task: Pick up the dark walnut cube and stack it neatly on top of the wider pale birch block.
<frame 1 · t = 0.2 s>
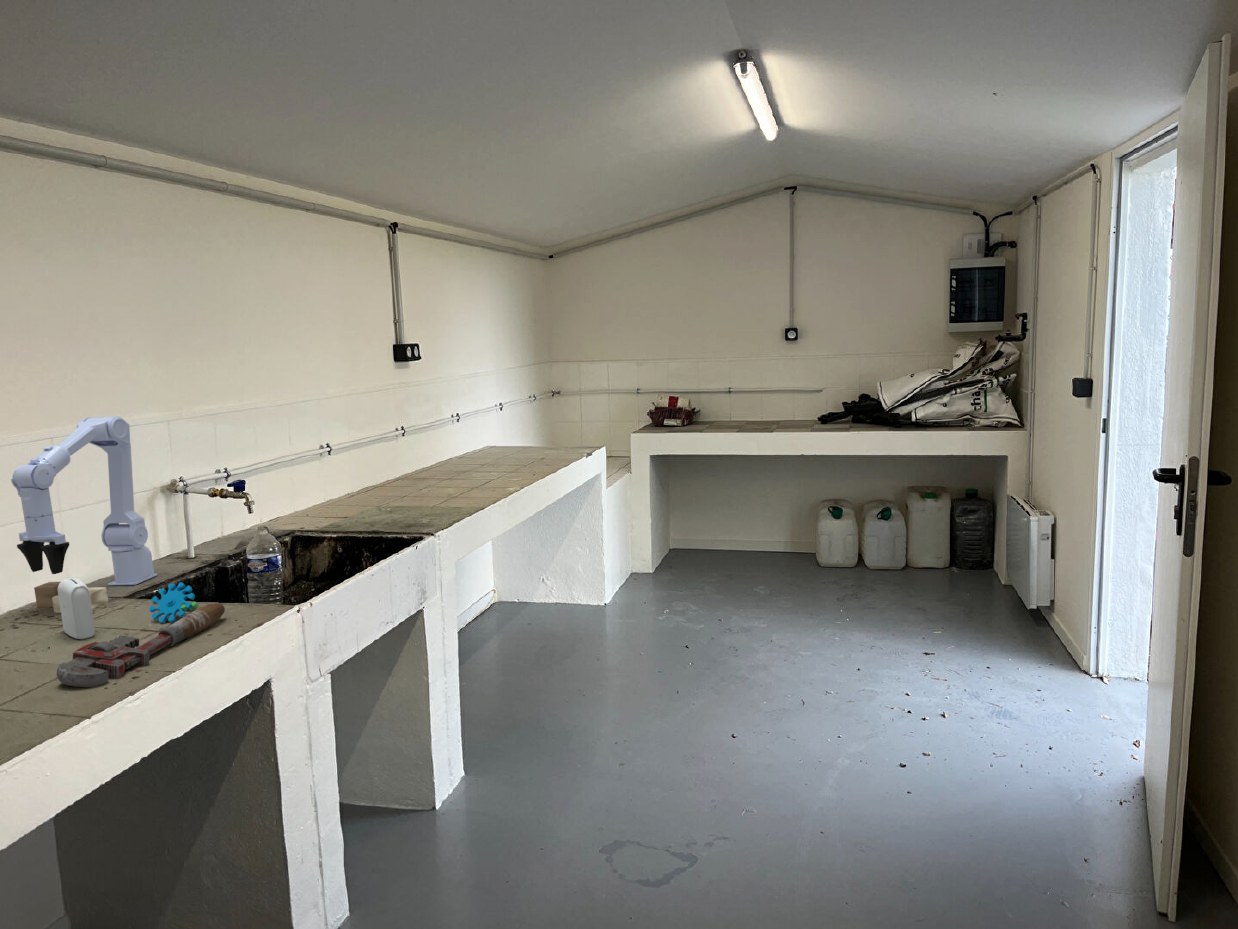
hand: (47, 572, 212), 10 cm above the table, tool pointing down, fingers open, 7 cm apart
birch block: (82, 608, 216), on the table
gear: (176, 619, 203), on the table
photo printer: (79, 635, 195), on the table
pipe wrench: (147, 652, 182), on the table
walnut cube: (54, 604, 221), on the table
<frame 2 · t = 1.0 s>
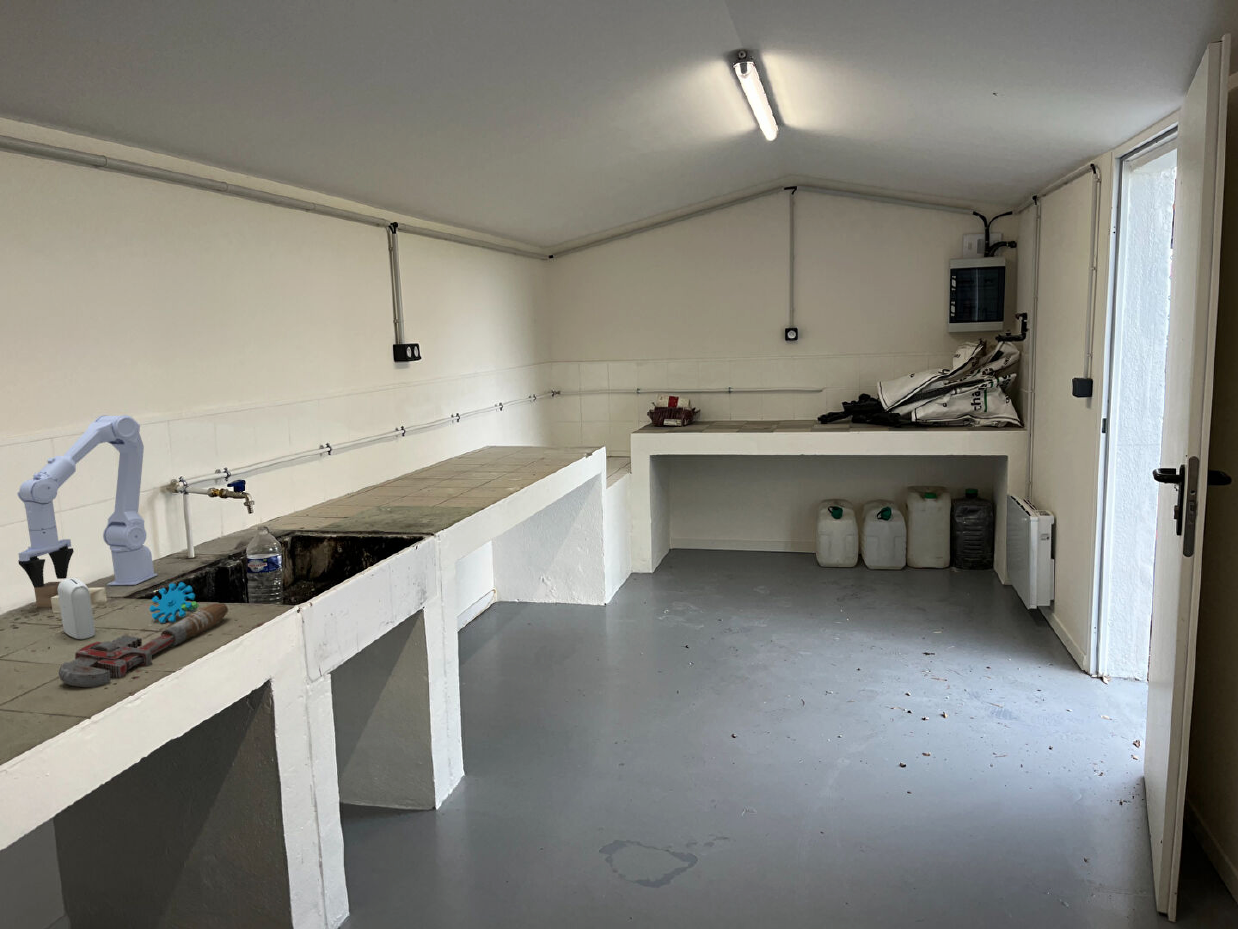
hand: (50, 582, 220), 5 cm above the table, tool pointing down, fingers open, 7 cm apart
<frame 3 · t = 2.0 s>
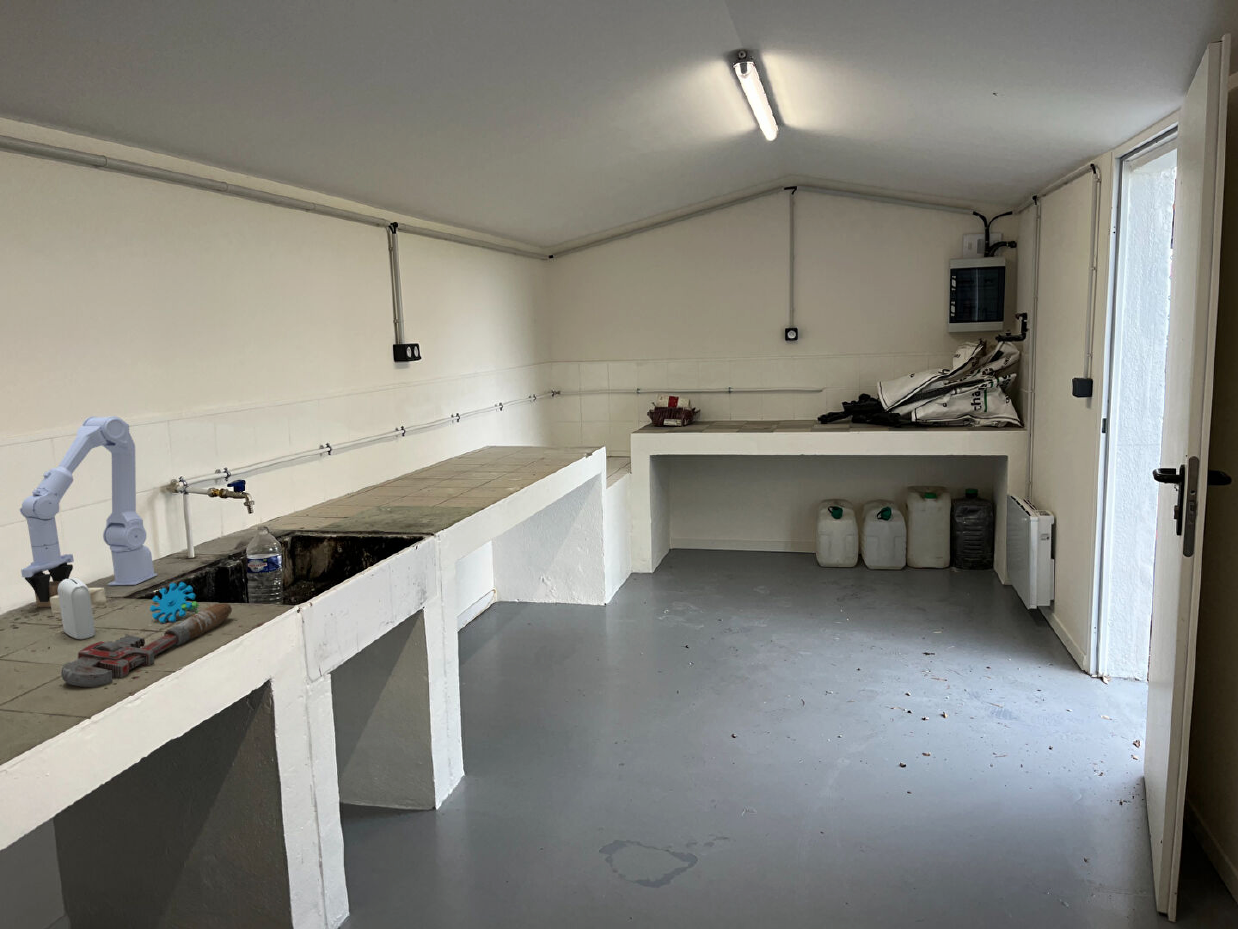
hand: (53, 598, 221), 1 cm above the table, tool pointing down, fingers closed on walnut cube, 5 cm apart
walnut cube: (54, 603, 221), on the table, touching gripper
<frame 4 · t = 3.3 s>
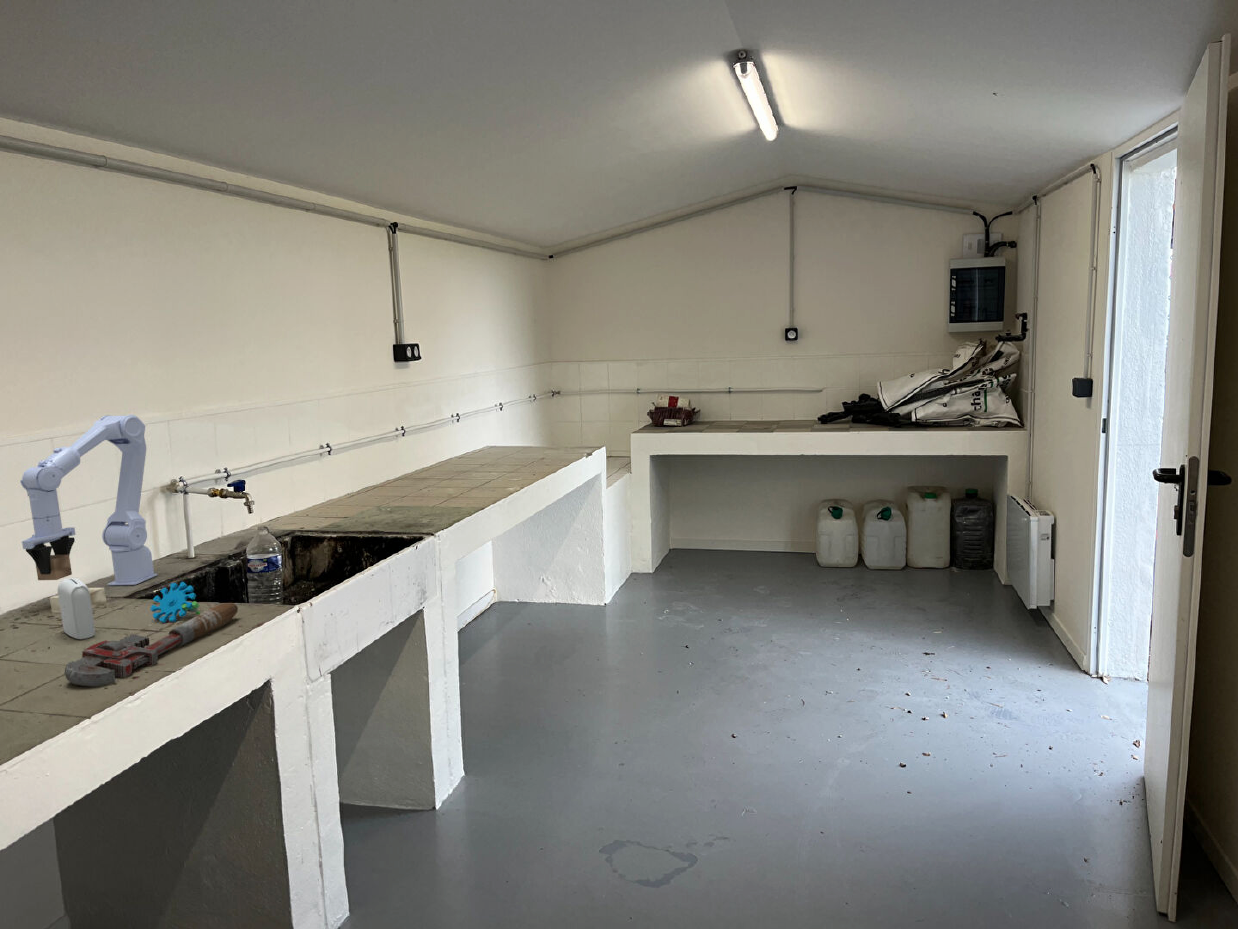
hand: (54, 571, 219), 8 cm above the table, tool pointing down, fingers closed on walnut cube, 5 cm apart
walnut cube: (55, 577, 219), point 7 cm above the table, touching gripper
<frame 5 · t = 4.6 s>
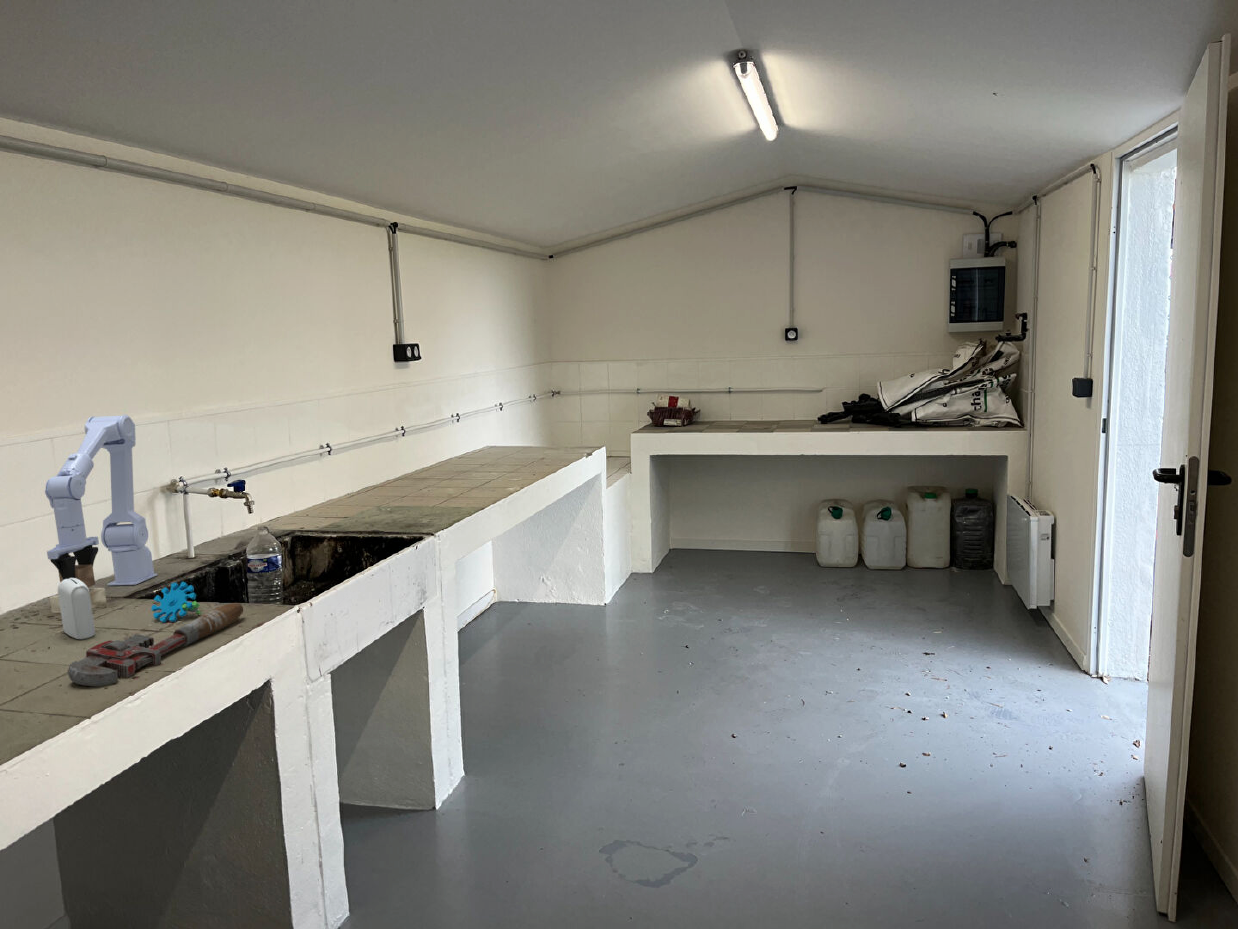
hand: (78, 581, 216), 6 cm above the table, tool pointing down, fingers closed on walnut cube, 5 cm apart
walnut cube: (78, 587, 216), point 5 cm above the table, touching gripper
when the fingers open (6 cm above the table, at t = 4.7 s): walnut cube drops 1 cm, resting on birch block.
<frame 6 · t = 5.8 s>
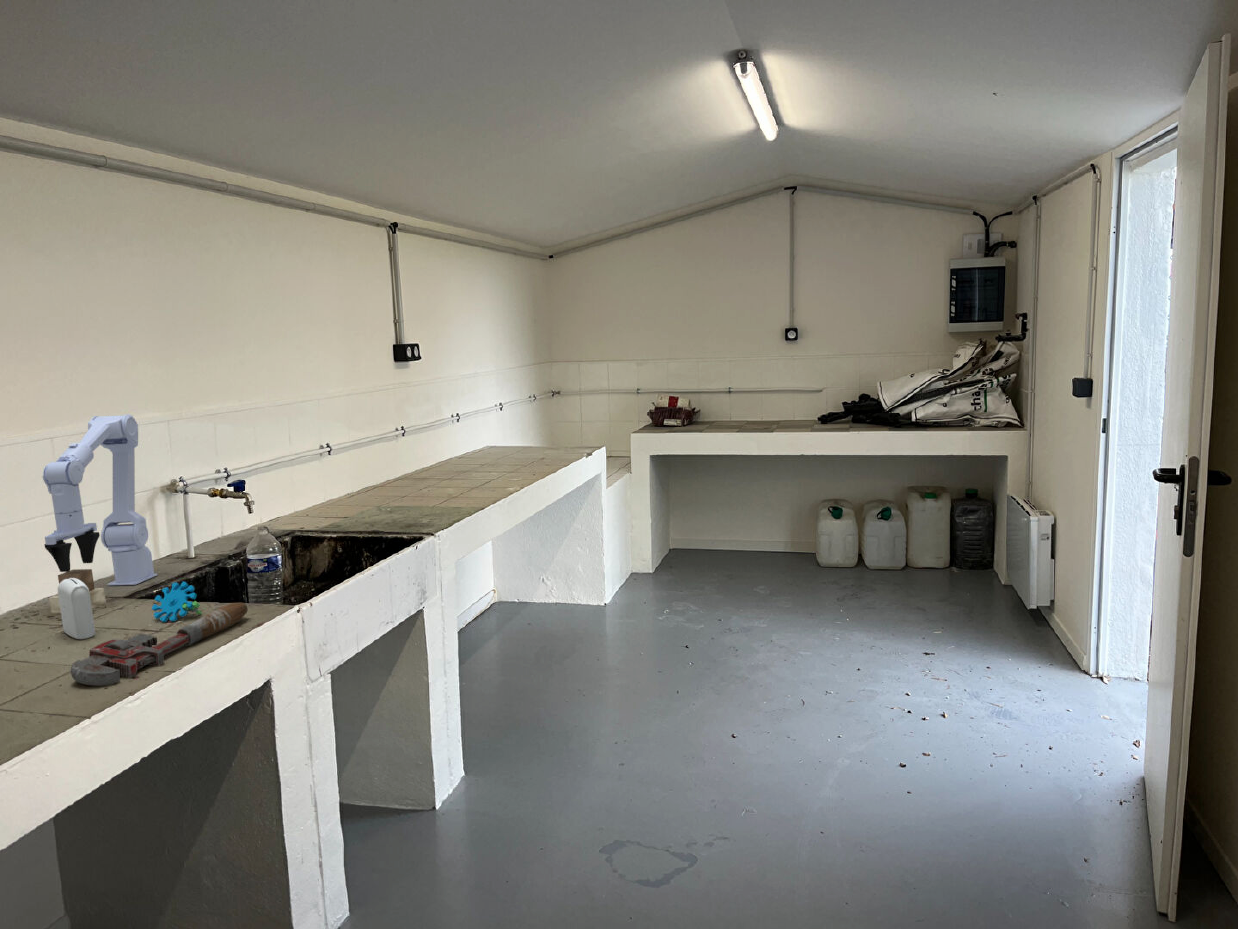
hand: (76, 567, 215), 10 cm above the table, tool pointing down, fingers open, 7 cm apart
birch block: (79, 609, 216), on the table, touching walnut cube
walnut cube: (77, 592, 216), point 4 cm above the table, touching birch block
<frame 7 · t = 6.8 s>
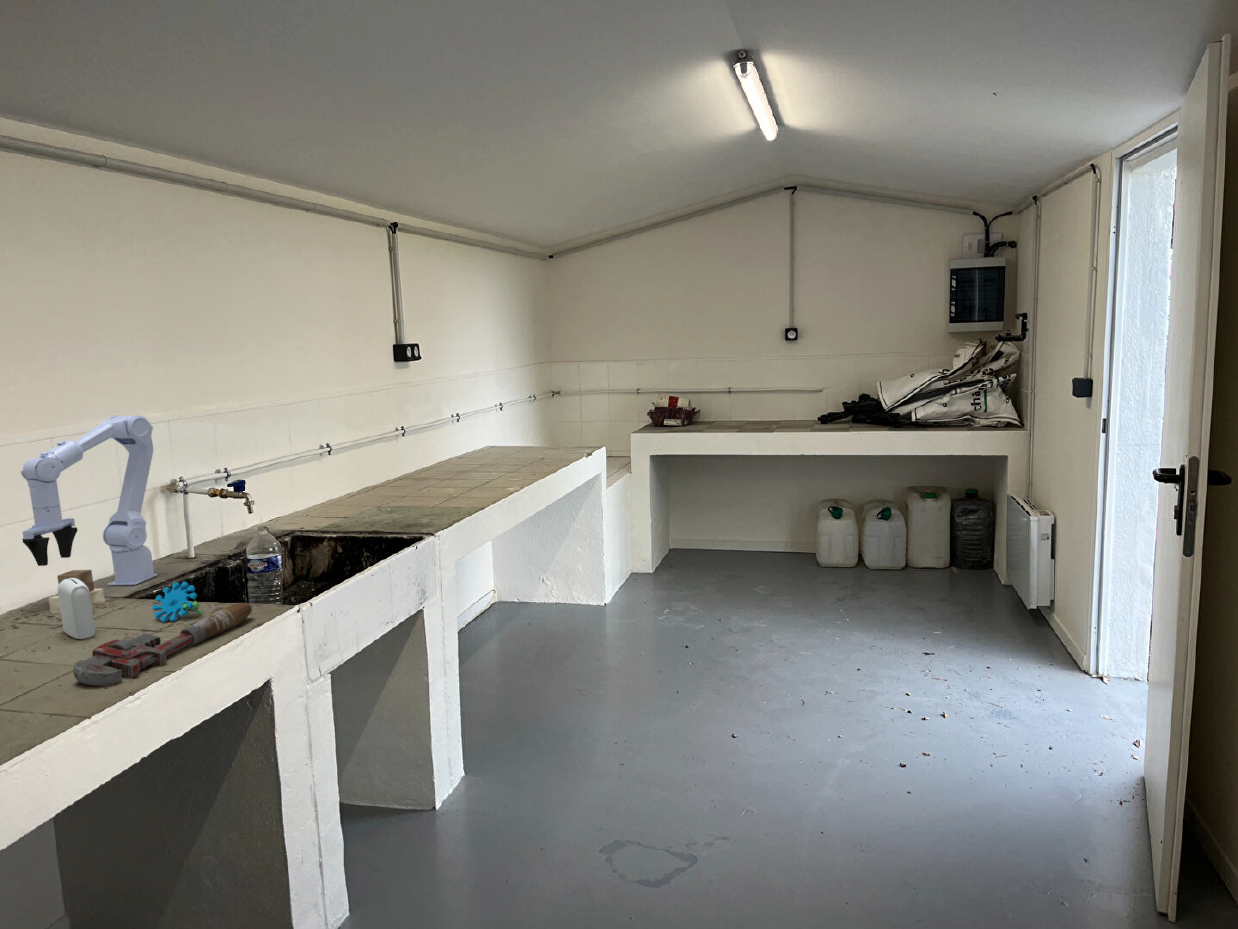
hand: (54, 561, 220), 10 cm above the table, tool pointing down, fingers open, 7 cm apart
birch block: (78, 609, 216), on the table
walnut cube: (77, 592, 216), point 4 cm above the table
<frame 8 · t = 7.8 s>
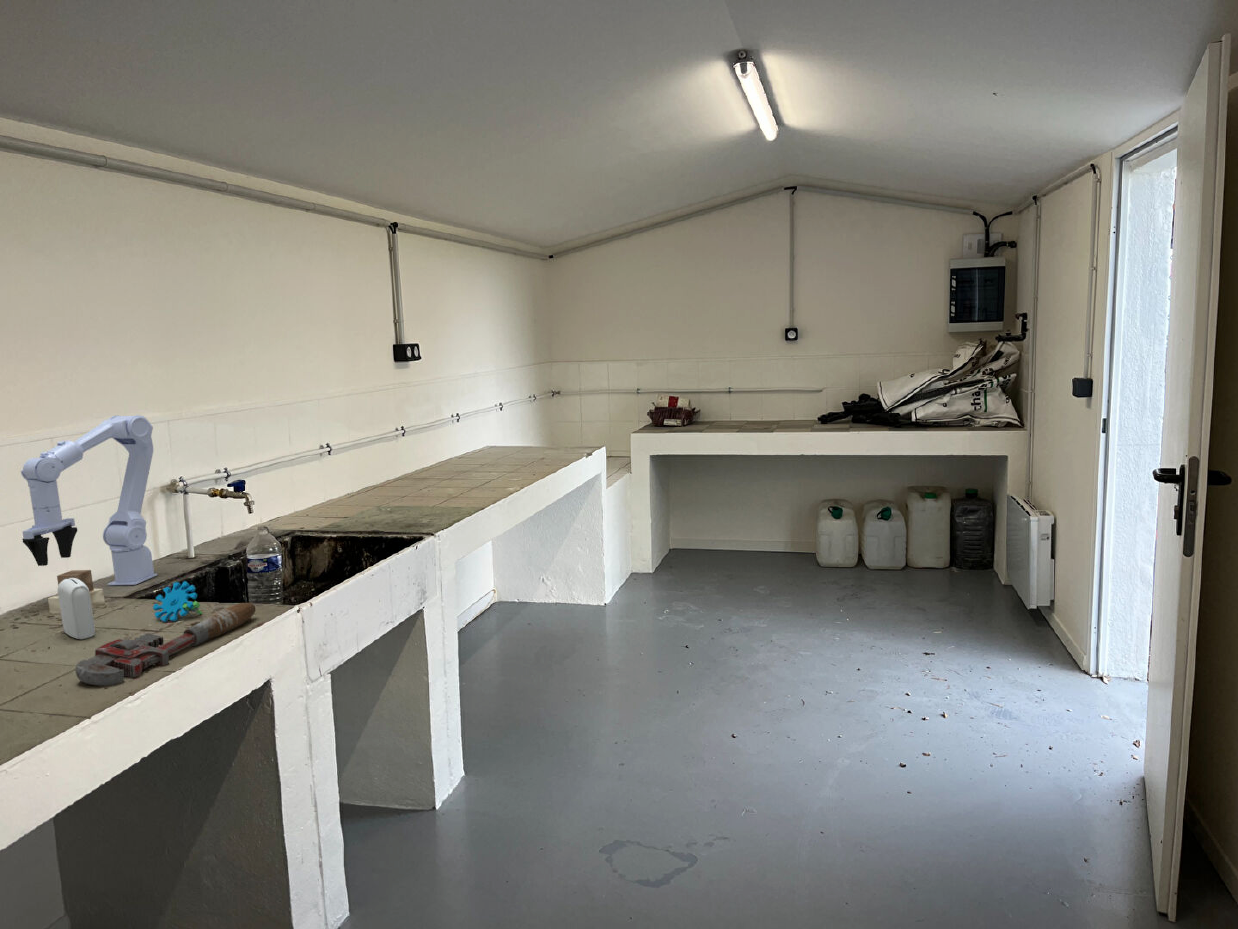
hand: (54, 561, 220), 10 cm above the table, tool pointing down, fingers open, 7 cm apart
birch block: (78, 609, 216), on the table, touching walnut cube
walnut cube: (76, 593, 215), point 4 cm above the table, touching birch block
at the end: walnut cube 0.3 cm off-centre on the birch block, point 4.0 cm above the birch block's base; walnut cube tilted 0°; the gripper is holding nothing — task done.
